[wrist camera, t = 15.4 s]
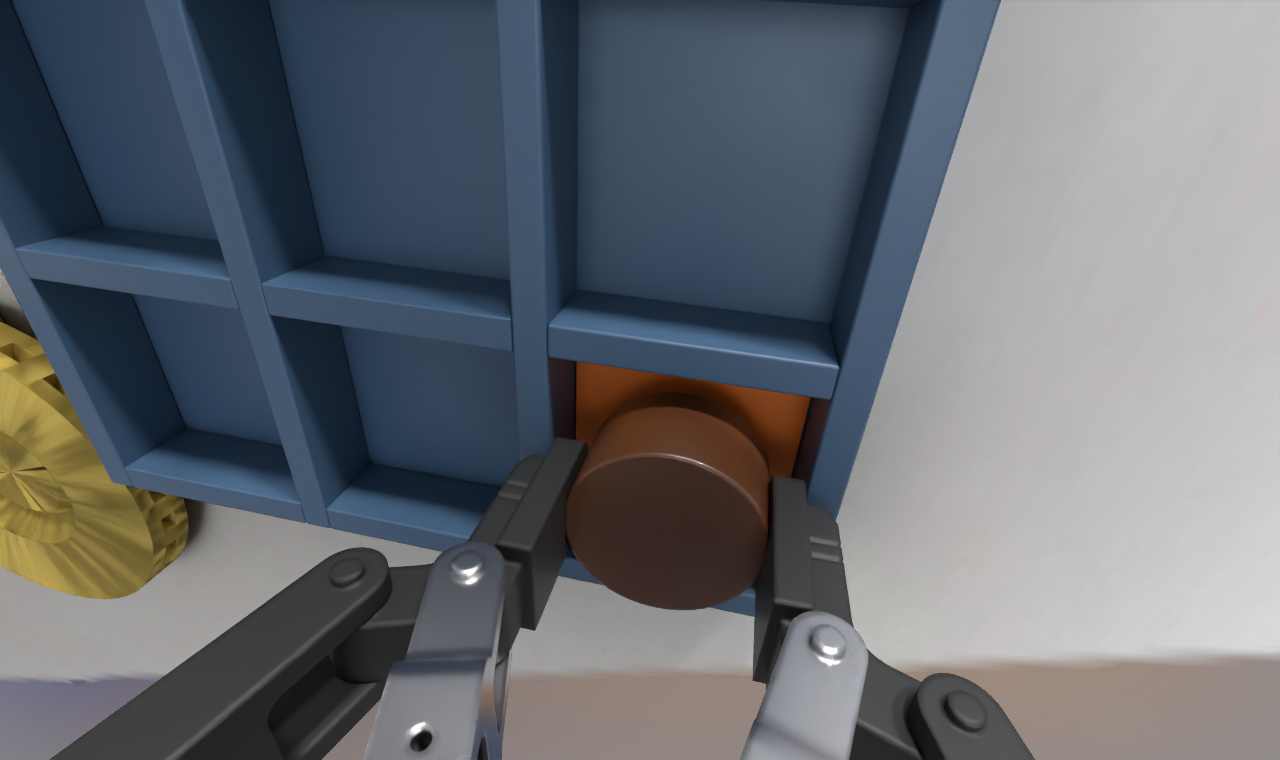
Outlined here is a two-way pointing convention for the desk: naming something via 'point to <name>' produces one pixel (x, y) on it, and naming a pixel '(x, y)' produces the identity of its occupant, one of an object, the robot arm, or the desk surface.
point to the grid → (465, 232)
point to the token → (672, 503)
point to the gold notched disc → (70, 492)
